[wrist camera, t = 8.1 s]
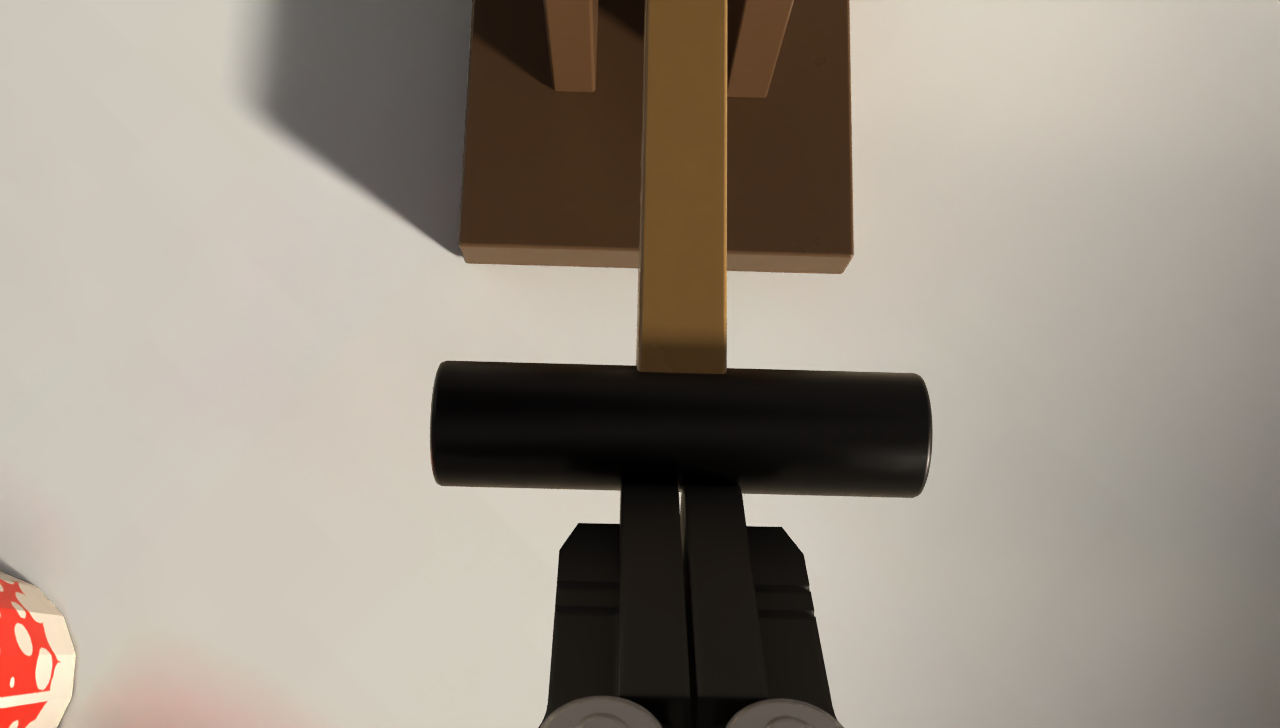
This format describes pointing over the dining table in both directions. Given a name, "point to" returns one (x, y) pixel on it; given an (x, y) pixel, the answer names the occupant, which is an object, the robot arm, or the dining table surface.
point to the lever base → (612, 132)
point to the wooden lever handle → (681, 345)
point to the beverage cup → (32, 658)
